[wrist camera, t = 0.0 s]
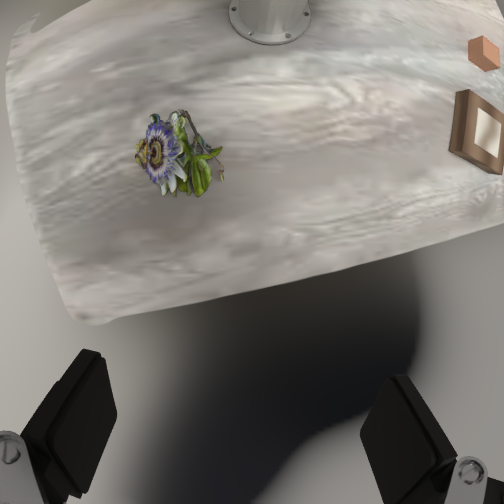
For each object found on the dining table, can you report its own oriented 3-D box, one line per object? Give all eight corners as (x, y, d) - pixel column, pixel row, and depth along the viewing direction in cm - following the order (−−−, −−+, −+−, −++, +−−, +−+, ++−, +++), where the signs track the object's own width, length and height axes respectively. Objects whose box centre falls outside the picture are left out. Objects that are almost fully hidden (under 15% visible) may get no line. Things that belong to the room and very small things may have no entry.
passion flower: (169, 155, 47) (129, 113, 36) (230, 136, 44) (200, 84, 33) (167, 216, 43) (118, 180, 32) (236, 199, 41) (200, 152, 30)
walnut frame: (448, 150, 42) (462, 151, 37) (456, 92, 38) (469, 89, 34) (488, 173, 42) (502, 175, 38) (495, 118, 39) (509, 118, 35)
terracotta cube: (468, 59, 36) (483, 54, 31) (468, 41, 35) (482, 35, 30) (484, 71, 36) (500, 68, 32) (484, 53, 35) (499, 48, 30)
